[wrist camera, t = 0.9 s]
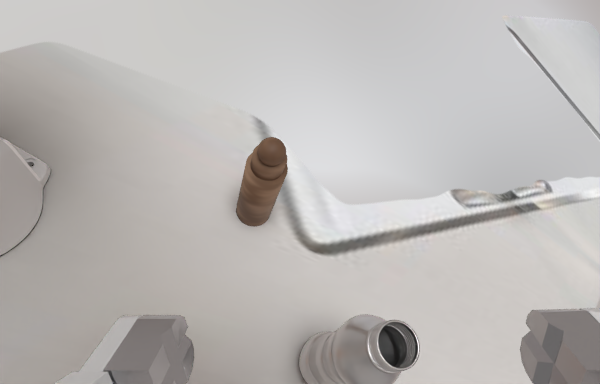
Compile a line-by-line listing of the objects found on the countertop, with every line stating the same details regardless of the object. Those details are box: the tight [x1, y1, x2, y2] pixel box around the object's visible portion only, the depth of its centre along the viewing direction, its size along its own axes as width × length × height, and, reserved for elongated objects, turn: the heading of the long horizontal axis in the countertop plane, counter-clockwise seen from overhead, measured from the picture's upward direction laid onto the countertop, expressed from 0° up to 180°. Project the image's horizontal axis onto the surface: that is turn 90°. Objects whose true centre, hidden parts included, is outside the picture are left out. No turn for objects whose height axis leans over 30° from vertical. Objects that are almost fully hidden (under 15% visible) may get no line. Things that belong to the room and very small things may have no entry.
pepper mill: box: [236, 137, 288, 226], centre depth 44 cm, size 5×5×17 cm
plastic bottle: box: [299, 314, 420, 384], centre depth 35 cm, size 6×7×20 cm
